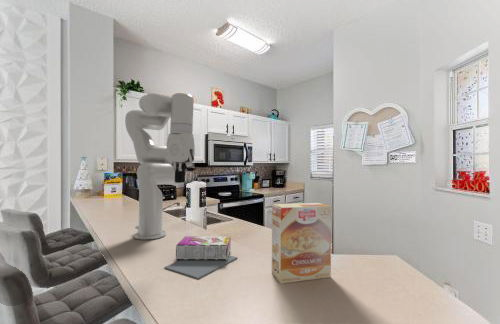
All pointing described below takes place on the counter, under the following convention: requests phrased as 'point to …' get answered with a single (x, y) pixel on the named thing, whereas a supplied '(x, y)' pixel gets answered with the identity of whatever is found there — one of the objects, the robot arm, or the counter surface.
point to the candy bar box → (203, 248)
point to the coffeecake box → (301, 241)
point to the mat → (198, 266)
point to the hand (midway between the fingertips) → (179, 182)
